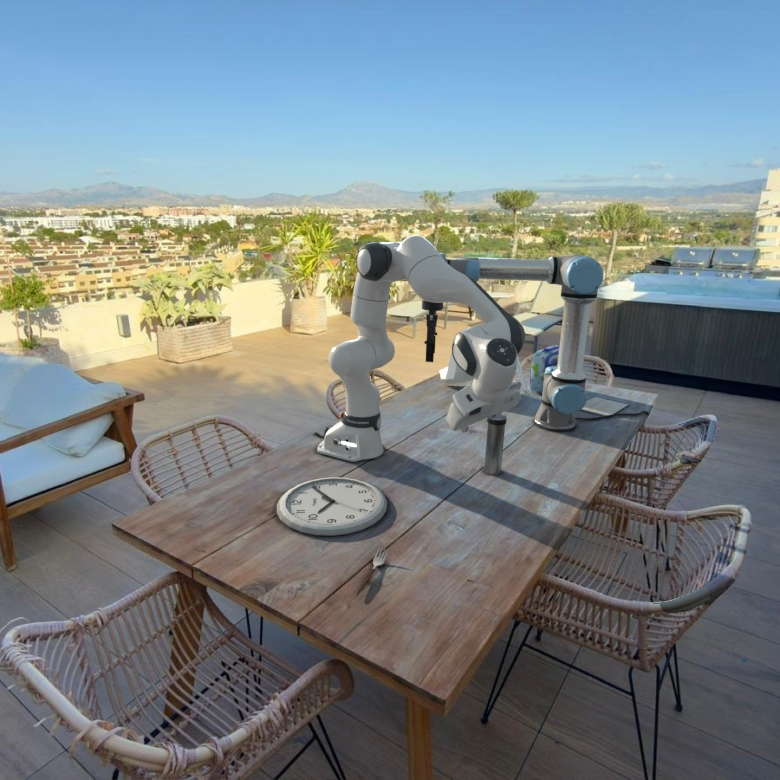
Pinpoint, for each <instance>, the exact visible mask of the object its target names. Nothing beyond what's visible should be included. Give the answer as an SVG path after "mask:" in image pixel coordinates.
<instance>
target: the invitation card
mask: <svg viewBox="0 0 780 780" xmlns="http://www.w3.org/2000/svg"><path fill="white" fill-rule="evenodd" d="M628 406H629V404H627V403H623V402H618V401H614V400H609V399H605V398H601V397H596V396H593V397H592V398H590V399H587V401H586V404H585V406H584V407H583V408H582V409H581V410H580V411H584V412H587V413H593V414H596V415H600V416H607V415H612V414H617V413H619V411H621V410H623V409H624V408H626V407H628Z"/></svg>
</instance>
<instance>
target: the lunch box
mask: <svg viewBox="0 0 780 780" xmlns="http://www.w3.org/2000/svg"><path fill="white" fill-rule="evenodd" d="M559 346H560V345H551V346H548V347H544V348H543V349H539V350H536V351H535V352H534V354H533V356H532V358H531V363H530V374H529V391H532V392H536V393H540V394H542V392H543V382H544V373H545V369H546V368H547V367H553V366H557V364H558V355H559Z"/></svg>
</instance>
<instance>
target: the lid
mask: <svg viewBox="0 0 780 780" xmlns="http://www.w3.org/2000/svg"><path fill="white" fill-rule="evenodd" d="M486 419H487V420H486V422H487V424H488V423H489V424H492V425H505V426H506V424H507V419H508V418H507V416H506V415H504V414H502V413H501V414H500V415H499V416H498V419H496V420H492V418H490V417H488V418H486Z"/></svg>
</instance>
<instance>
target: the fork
mask: <svg viewBox="0 0 780 780" xmlns="http://www.w3.org/2000/svg"><path fill="white" fill-rule="evenodd" d="M380 547H381V545H379V546H378V549H377V551H376V554H375V557H374V558H373V561H372V563H373V567H372V568H371V569H370V570H369V571H368V573H367V574H366V575H365V576H364V578H363V580H362V582H361V584H360V586H359V589H357V592H356V596H359V594H360V593H361V591H362V590H363V589H364V587H365V586H367V584H368V583H369V581H370V580H371V579H372V576H373V574H374V571H375V569H376V568H377V567H379V566H382V565H384V564H385V562H386V559H387V556H388V552H389V549H387V550H386V548H387V546H385V547H383V546H382V548H381V550H380ZM383 548H384V550H383ZM379 551H380V552H379ZM382 551H383V552H382ZM385 551H386V552H385Z"/></svg>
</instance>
